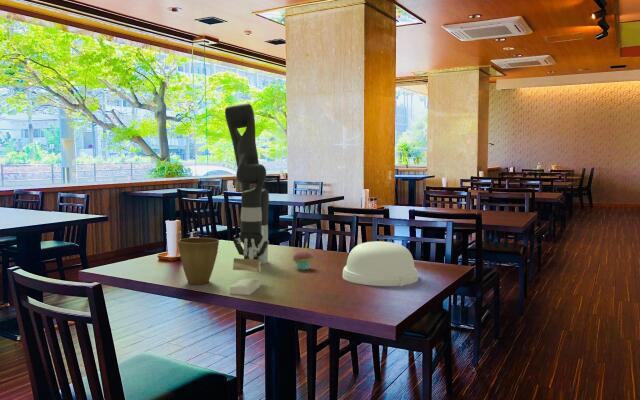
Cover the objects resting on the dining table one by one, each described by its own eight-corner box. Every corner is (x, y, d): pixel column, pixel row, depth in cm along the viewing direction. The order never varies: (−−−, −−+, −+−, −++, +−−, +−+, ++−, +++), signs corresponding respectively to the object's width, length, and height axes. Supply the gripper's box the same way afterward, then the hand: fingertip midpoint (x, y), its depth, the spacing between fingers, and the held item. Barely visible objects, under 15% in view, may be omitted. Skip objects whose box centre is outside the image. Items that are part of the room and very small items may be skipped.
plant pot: (200, 288, 185) (200, 244, 184) (169, 283, 192) (169, 240, 191) (227, 280, 198) (227, 239, 197) (197, 276, 205) (197, 236, 204)
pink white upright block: (241, 279, 191) (230, 286, 179) (260, 279, 189) (249, 287, 178) (241, 286, 191) (230, 294, 179) (260, 287, 190) (249, 295, 178)
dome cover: (328, 272, 216) (329, 239, 215) (390, 267, 228) (390, 235, 227) (367, 290, 187) (367, 251, 186) (435, 283, 199) (436, 246, 198)
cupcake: (316, 267, 224) (316, 240, 224) (307, 271, 217) (307, 242, 216) (298, 265, 228) (298, 238, 227) (289, 269, 220) (289, 241, 219)
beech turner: (246, 271, 197) (247, 261, 198) (268, 273, 195) (269, 262, 196) (232, 269, 184) (233, 258, 185) (256, 271, 182) (257, 259, 183)
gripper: (272, 219, 190) (272, 265, 191) (237, 217, 193) (237, 263, 194) (266, 221, 183) (266, 269, 184) (229, 219, 186) (229, 267, 187)
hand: (251, 266), depth 189 cm, fingers closed on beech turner, 2 cm apart
